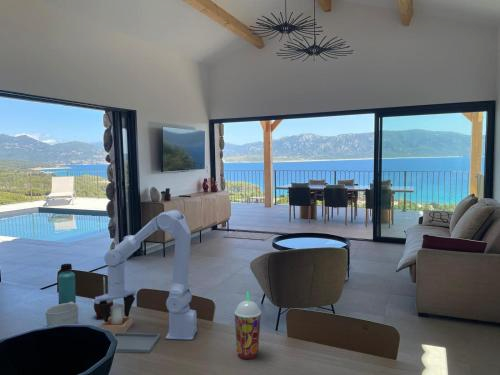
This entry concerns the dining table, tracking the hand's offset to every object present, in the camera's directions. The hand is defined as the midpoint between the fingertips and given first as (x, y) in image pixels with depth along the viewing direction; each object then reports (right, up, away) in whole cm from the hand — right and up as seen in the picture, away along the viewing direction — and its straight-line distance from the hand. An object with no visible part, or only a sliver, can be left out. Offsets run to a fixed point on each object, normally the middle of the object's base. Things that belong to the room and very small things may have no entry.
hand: (116, 318), depth 139 cm
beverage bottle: (-26, -4, +17) cm, 31 cm away
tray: (+9, -5, -12) cm, 16 cm away
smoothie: (+48, -5, -19) cm, 52 cm away
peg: (0, -4, 0) cm, 4 cm away
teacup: (-20, -4, +2) cm, 20 cm away
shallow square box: (0, -4, 0) cm, 4 cm away
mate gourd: (-9, -4, +12) cm, 15 cm away
